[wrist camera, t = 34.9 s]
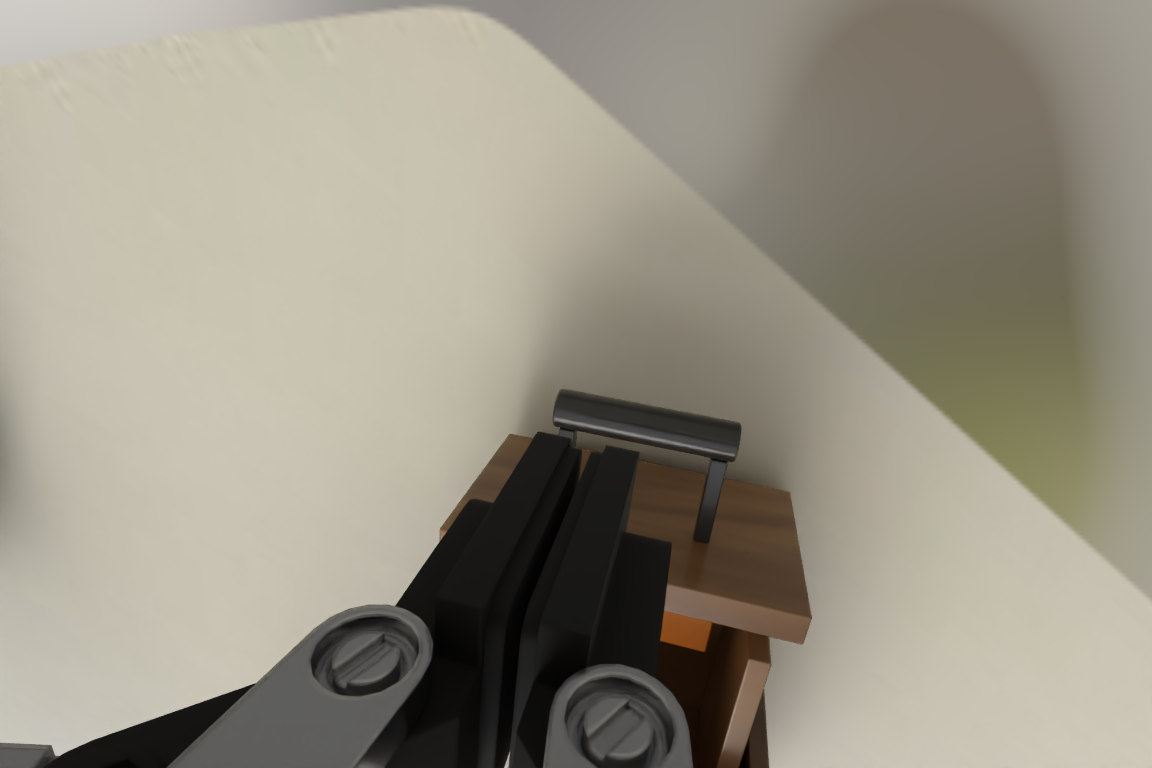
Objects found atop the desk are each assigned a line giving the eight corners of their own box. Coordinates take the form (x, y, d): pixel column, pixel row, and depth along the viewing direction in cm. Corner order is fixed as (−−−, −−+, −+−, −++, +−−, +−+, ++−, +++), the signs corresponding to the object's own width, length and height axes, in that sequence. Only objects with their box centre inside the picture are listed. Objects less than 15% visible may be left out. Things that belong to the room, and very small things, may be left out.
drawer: (516, 334, 27) (441, 405, 20) (819, 389, 25) (856, 489, 18) (494, 646, 34) (433, 778, 27) (727, 708, 32) (727, 870, 25)
